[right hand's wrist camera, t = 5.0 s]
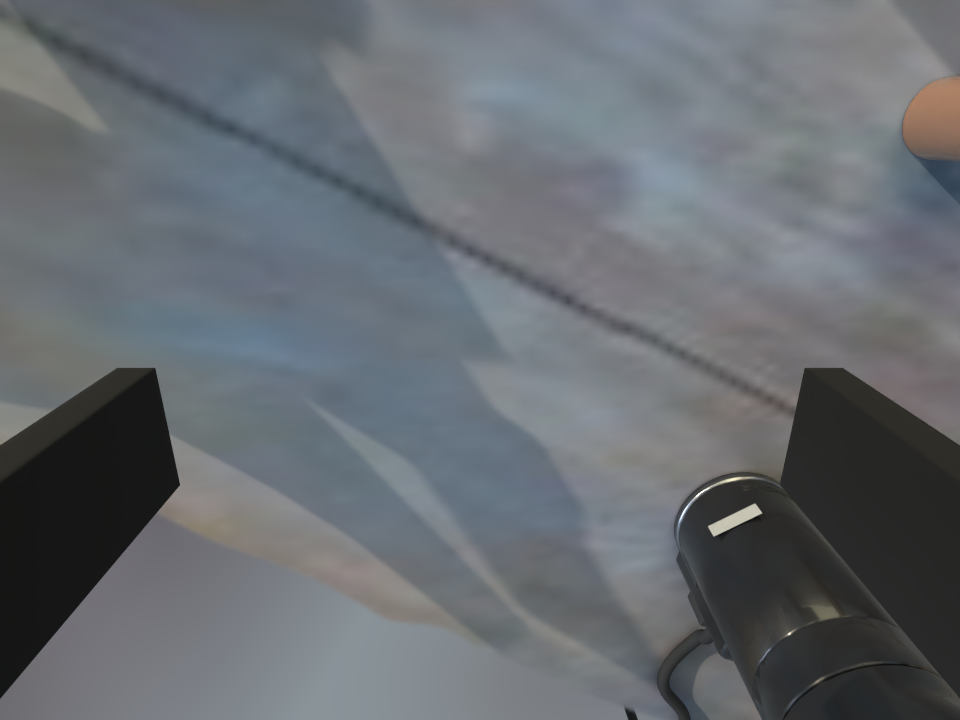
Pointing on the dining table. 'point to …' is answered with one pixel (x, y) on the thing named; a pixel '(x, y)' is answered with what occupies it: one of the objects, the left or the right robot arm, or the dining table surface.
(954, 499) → the right robot arm
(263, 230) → the dining table surface
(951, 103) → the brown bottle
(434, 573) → the dining table surface
